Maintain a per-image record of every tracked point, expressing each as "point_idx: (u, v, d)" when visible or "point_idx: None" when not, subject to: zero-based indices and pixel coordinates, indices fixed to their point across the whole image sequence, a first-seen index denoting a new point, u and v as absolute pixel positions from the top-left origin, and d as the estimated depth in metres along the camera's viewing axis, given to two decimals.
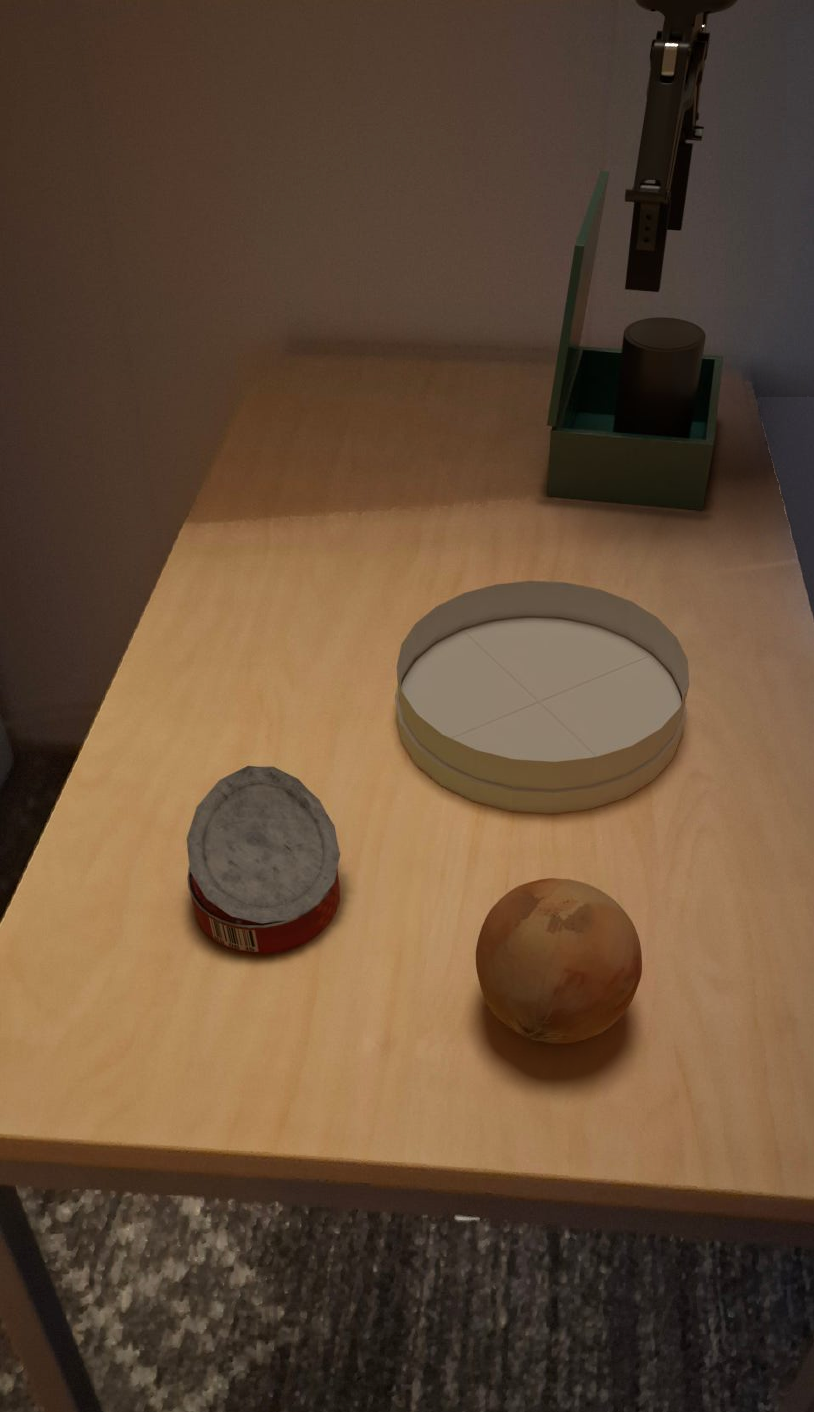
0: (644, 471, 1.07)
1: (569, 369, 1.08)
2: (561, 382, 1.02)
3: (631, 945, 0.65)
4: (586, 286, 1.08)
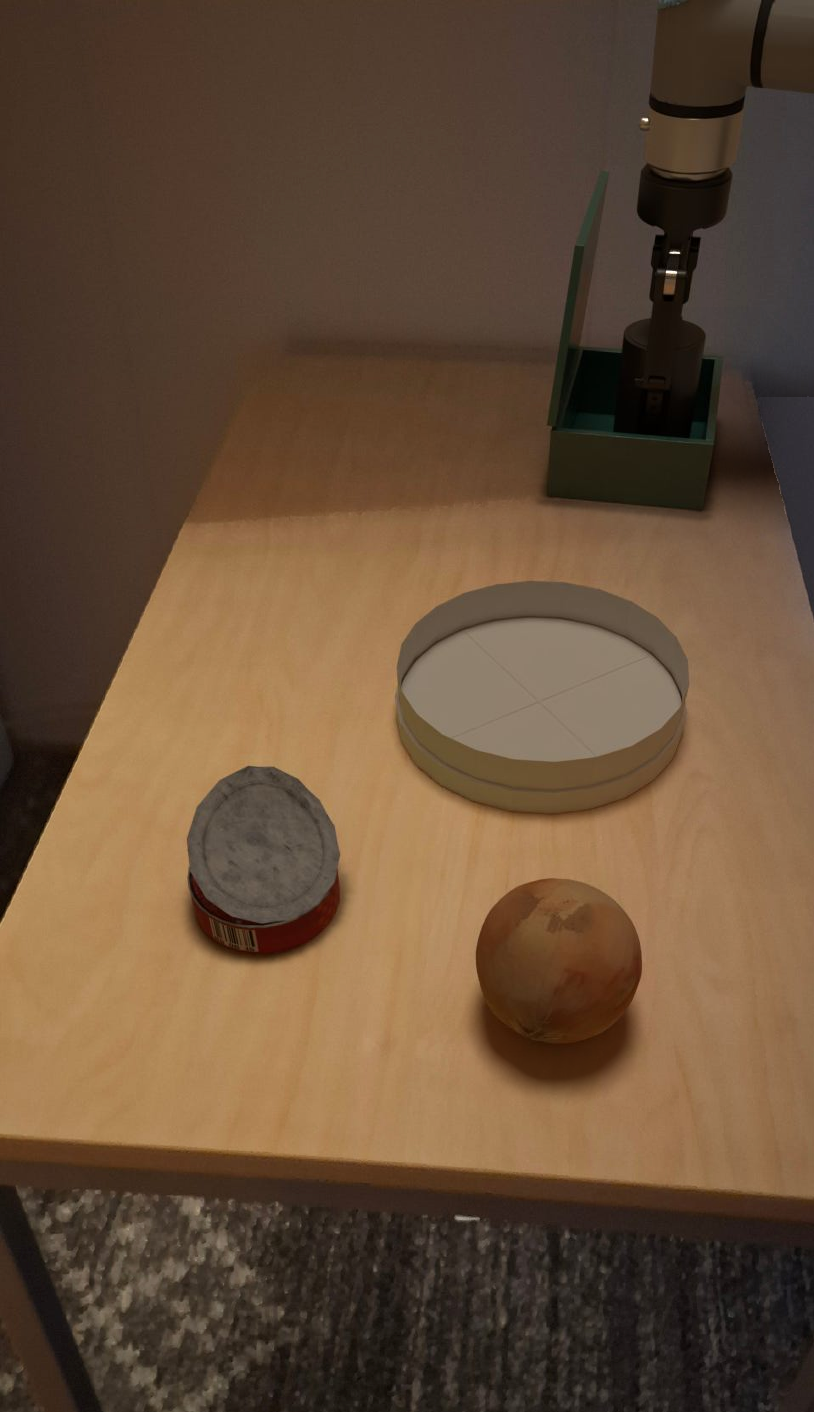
0: (644, 471, 1.07)
1: (569, 369, 1.08)
2: (561, 382, 1.02)
3: (631, 945, 0.65)
4: (586, 286, 1.08)
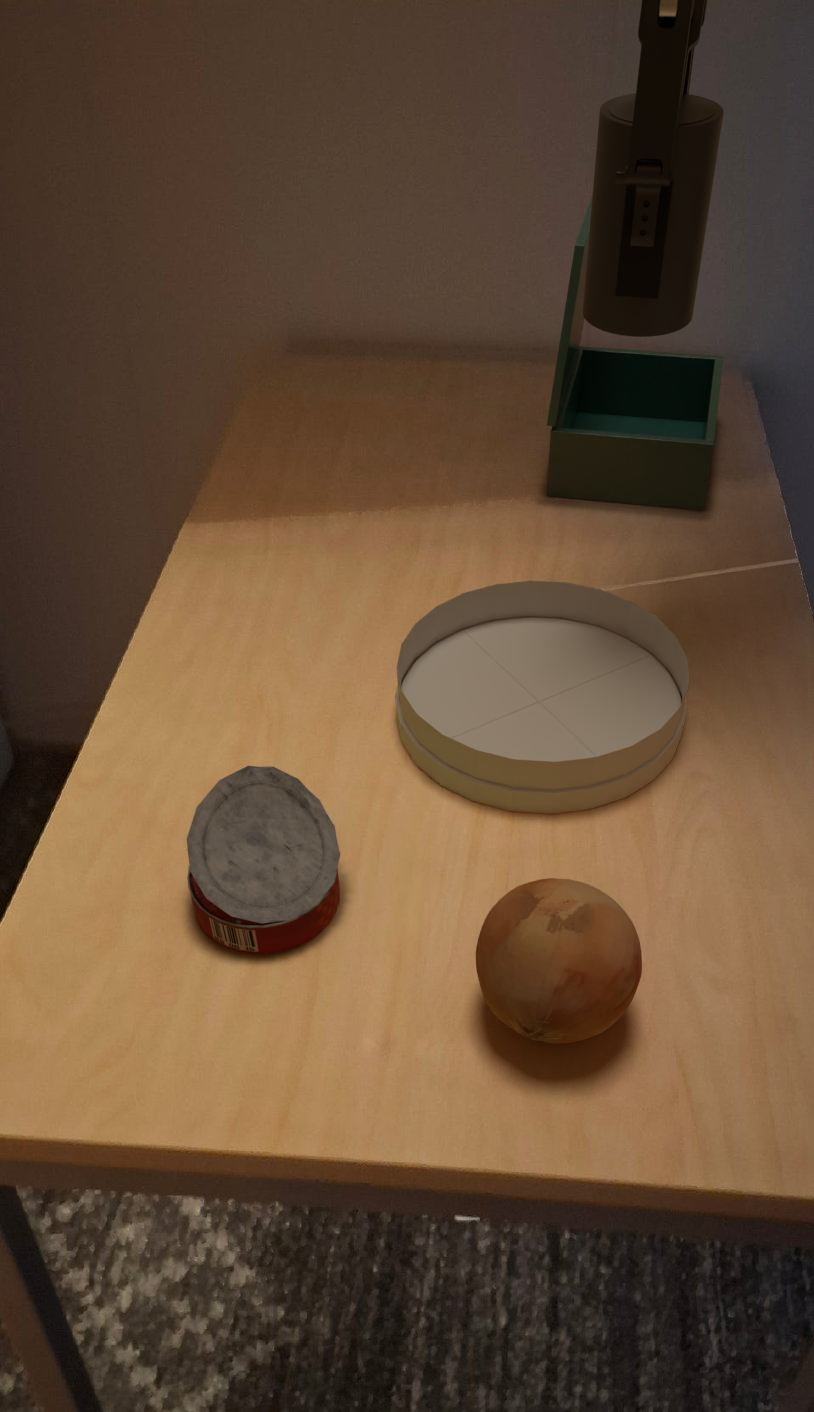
0: (644, 471, 1.07)
1: (569, 369, 1.08)
2: (561, 382, 1.02)
3: (631, 945, 0.65)
4: None
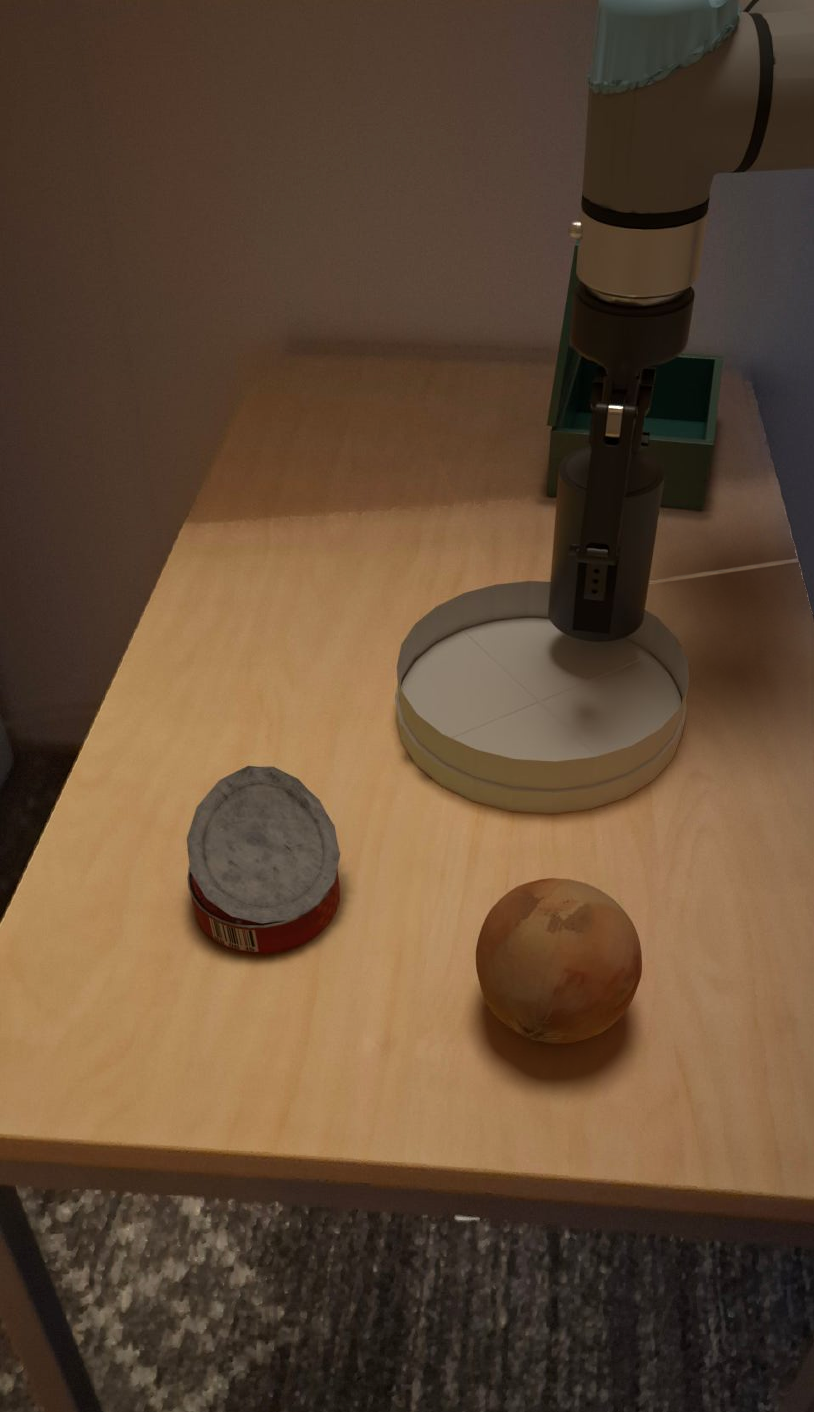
0: None
1: (569, 369, 1.08)
2: (561, 382, 1.02)
3: (631, 945, 0.65)
4: None
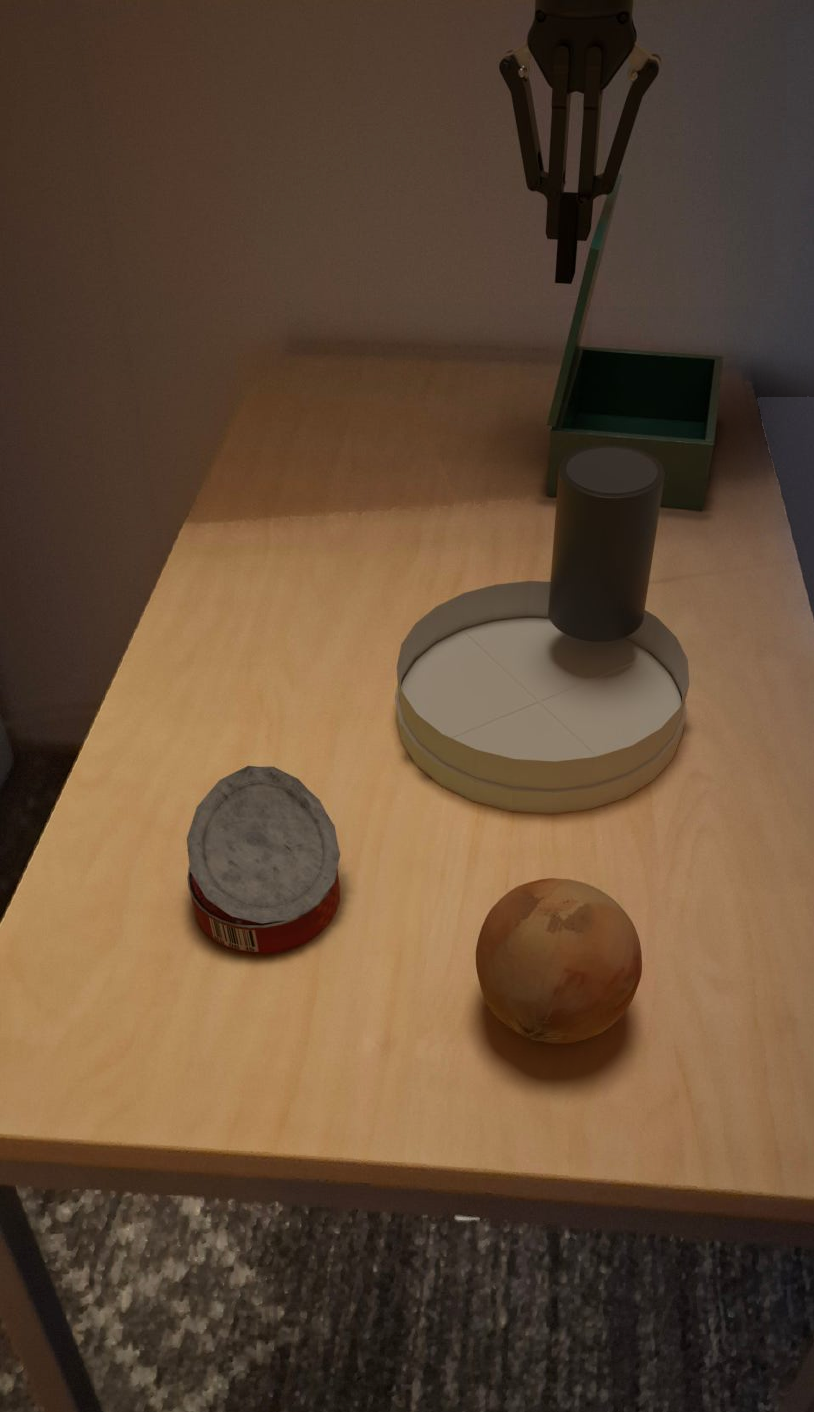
0: None
1: None
2: (565, 383, 1.02)
3: (631, 945, 0.65)
4: (592, 288, 1.08)
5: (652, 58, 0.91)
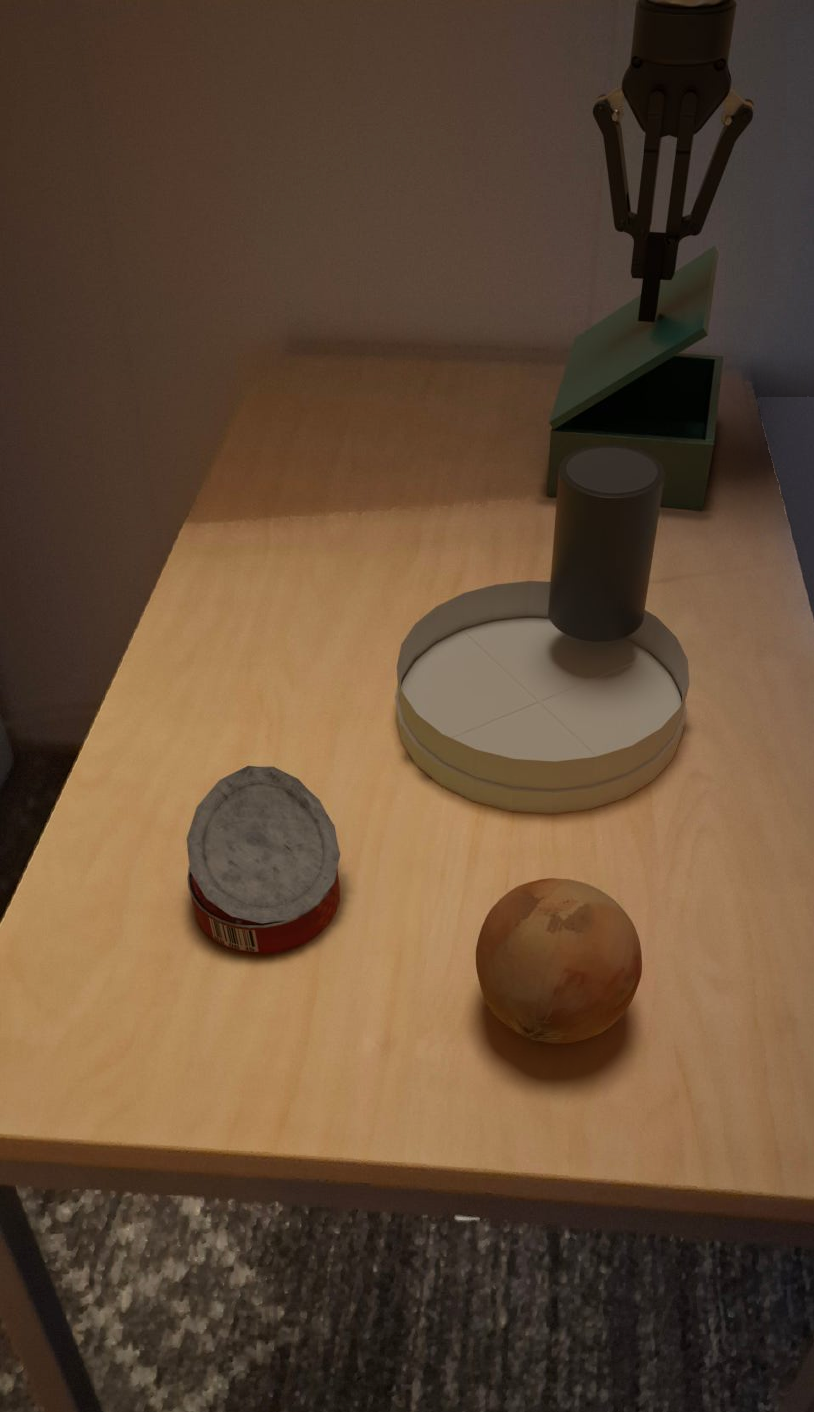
0: None
1: None
2: (591, 405, 1.03)
3: (631, 945, 0.65)
4: None
5: (746, 103, 0.92)
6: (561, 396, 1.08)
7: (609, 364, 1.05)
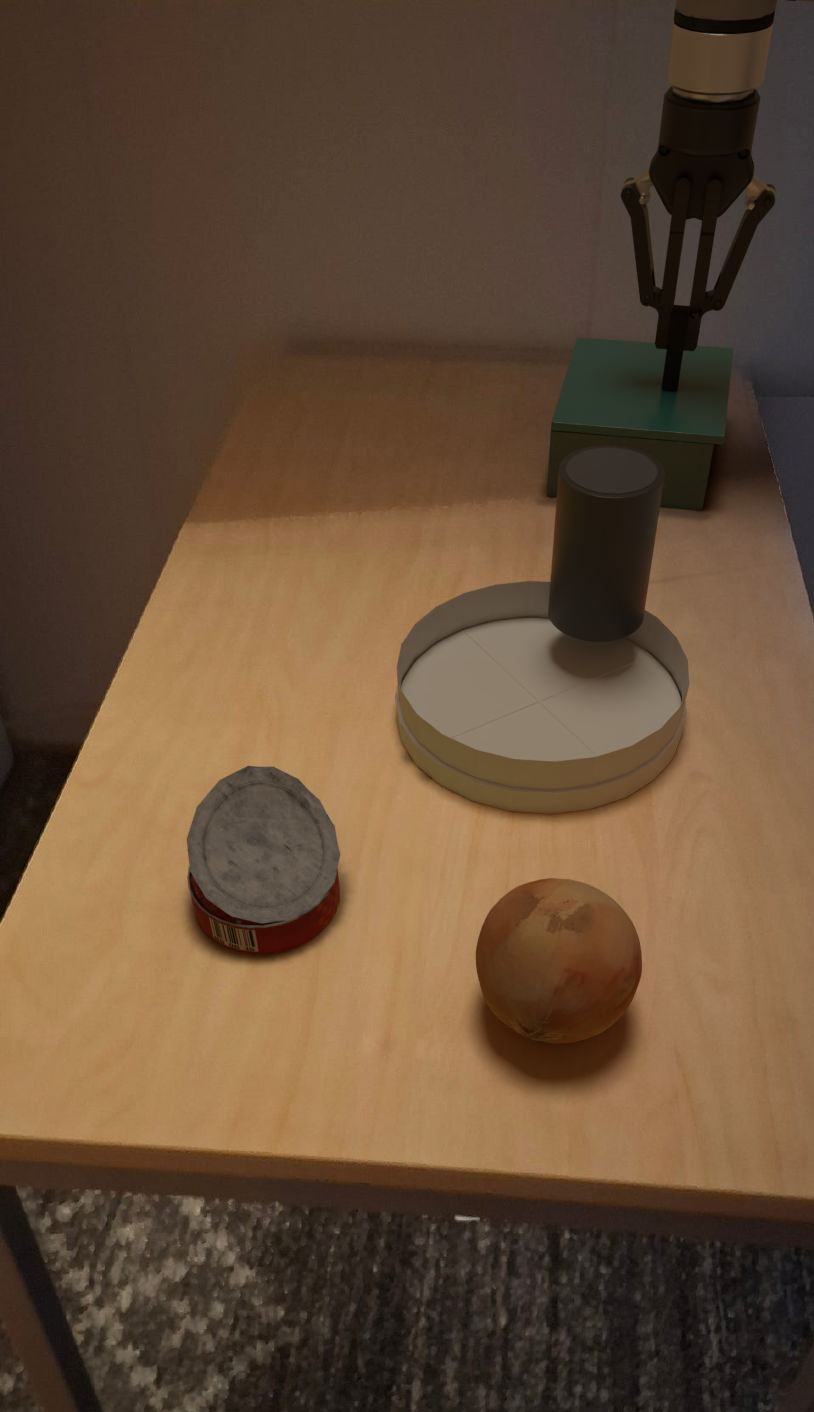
0: None
1: None
2: (596, 433, 1.05)
3: (631, 945, 0.65)
4: None
5: (768, 189, 0.96)
6: (565, 401, 1.08)
7: (620, 401, 1.08)
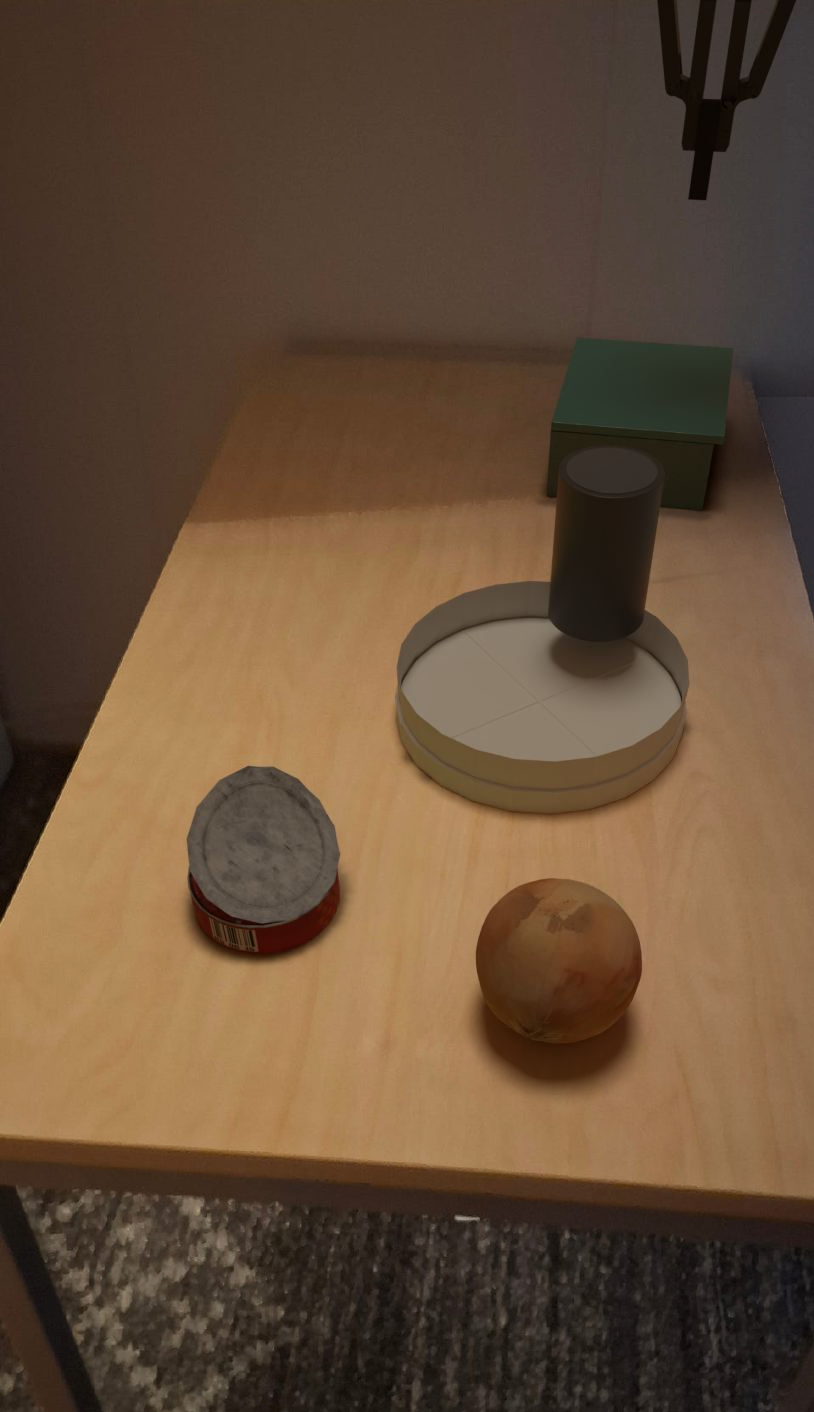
0: None
1: None
2: (596, 433, 1.05)
3: (631, 945, 0.65)
4: None
5: None
6: (565, 401, 1.08)
7: (620, 401, 1.08)
